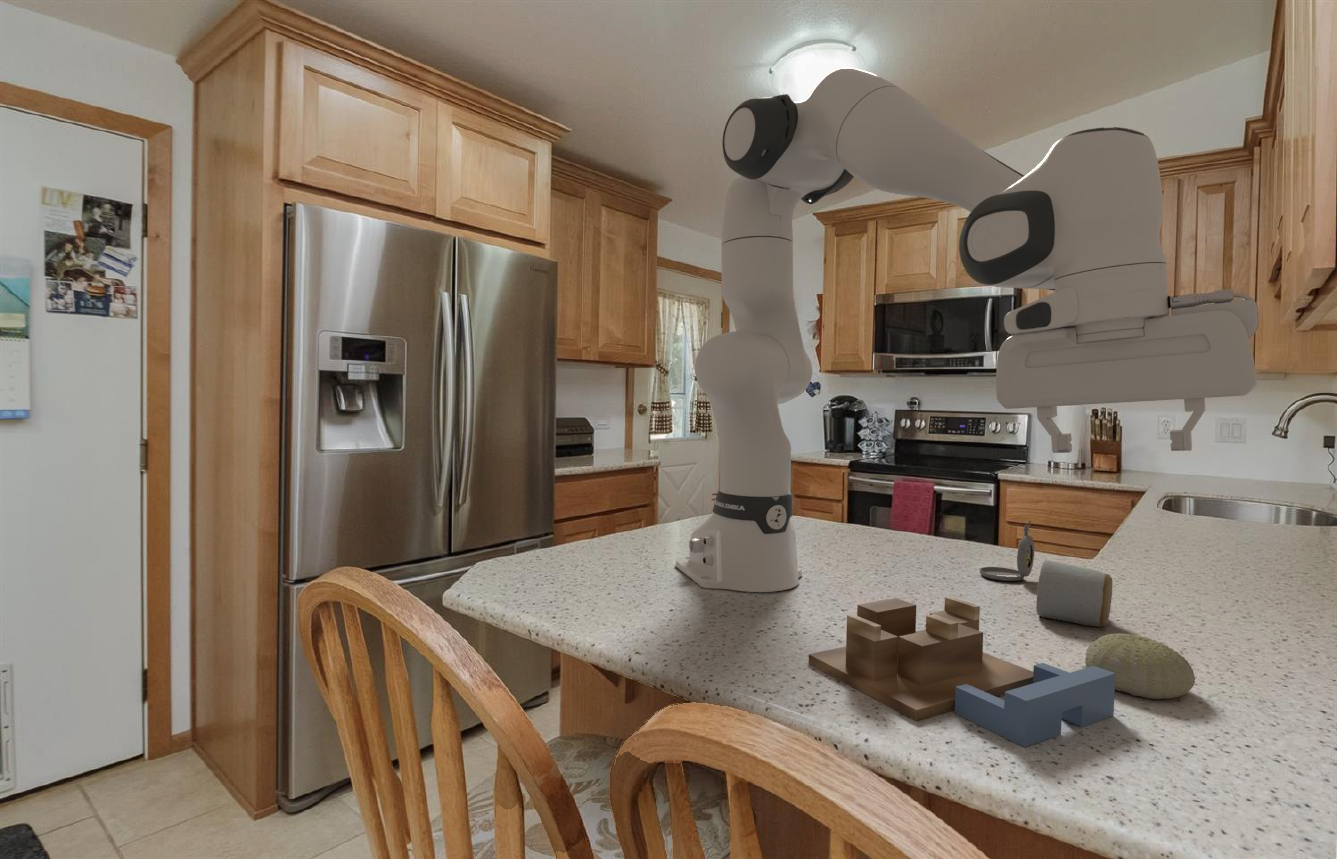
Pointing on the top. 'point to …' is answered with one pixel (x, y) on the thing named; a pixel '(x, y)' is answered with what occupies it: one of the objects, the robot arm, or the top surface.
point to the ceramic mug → (1074, 594)
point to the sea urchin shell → (1142, 666)
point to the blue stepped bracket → (1041, 704)
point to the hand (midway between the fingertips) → (1119, 451)
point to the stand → (918, 657)
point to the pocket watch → (1023, 561)
